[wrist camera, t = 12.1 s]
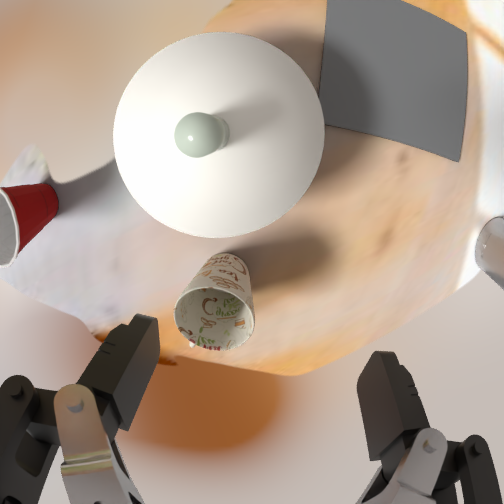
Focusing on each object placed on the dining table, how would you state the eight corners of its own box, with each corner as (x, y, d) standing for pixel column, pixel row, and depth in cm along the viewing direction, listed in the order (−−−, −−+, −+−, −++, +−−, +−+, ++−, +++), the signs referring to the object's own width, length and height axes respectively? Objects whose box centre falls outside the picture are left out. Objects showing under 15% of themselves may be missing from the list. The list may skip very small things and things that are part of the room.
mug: (269, 262, 36) (269, 309, 27) (228, 328, 41) (218, 380, 32) (209, 233, 34) (189, 272, 25) (176, 305, 39) (154, 353, 30)
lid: (332, 47, 19) (350, 27, 13) (305, 245, 27) (313, 275, 21) (127, 42, 19) (95, 27, 14) (119, 224, 27) (89, 247, 22)
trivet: (463, 33, 20) (465, 32, 19) (456, 161, 28) (458, 162, 28) (328, -20, 20) (329, -22, 19) (315, 122, 28) (316, 122, 28)
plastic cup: (77, 178, 32) (17, 203, 21) (66, 243, 36) (17, 282, 25) (30, 157, 31) (-27, 175, 20) (23, 218, 35) (-26, 247, 24)
